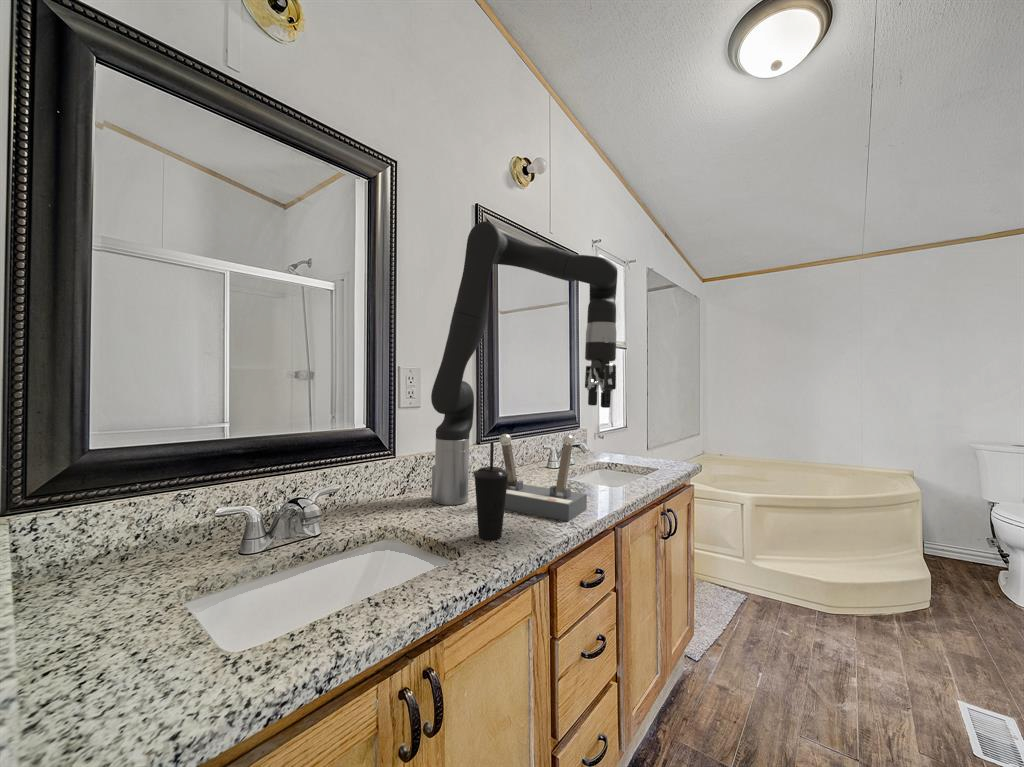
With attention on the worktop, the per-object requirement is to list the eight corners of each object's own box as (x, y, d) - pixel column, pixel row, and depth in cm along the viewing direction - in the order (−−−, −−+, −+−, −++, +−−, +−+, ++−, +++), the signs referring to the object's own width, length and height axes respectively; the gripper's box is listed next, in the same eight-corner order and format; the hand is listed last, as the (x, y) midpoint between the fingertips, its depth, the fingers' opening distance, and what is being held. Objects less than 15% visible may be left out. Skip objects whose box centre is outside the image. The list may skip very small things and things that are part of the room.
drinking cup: (464, 536, 91) (466, 442, 91) (490, 528, 96) (492, 439, 96) (489, 546, 86) (491, 446, 86) (515, 536, 91) (517, 443, 91)
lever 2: (552, 490, 109) (561, 432, 114) (556, 492, 112) (566, 436, 117) (563, 492, 108) (572, 433, 112) (568, 494, 110) (577, 437, 115)
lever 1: (505, 487, 117) (496, 436, 112) (510, 480, 119) (502, 431, 115) (515, 488, 115) (506, 437, 110) (521, 482, 118) (512, 432, 113)
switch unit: (485, 505, 114) (485, 481, 114) (508, 495, 125) (508, 474, 125) (568, 521, 102) (569, 495, 102) (586, 509, 113) (587, 485, 113)
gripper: (577, 343, 113) (575, 404, 113) (597, 338, 99) (595, 408, 99) (603, 344, 115) (601, 405, 115) (627, 339, 101) (625, 408, 101)
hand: (598, 406), depth 107 cm, fingers open, 8 cm apart
